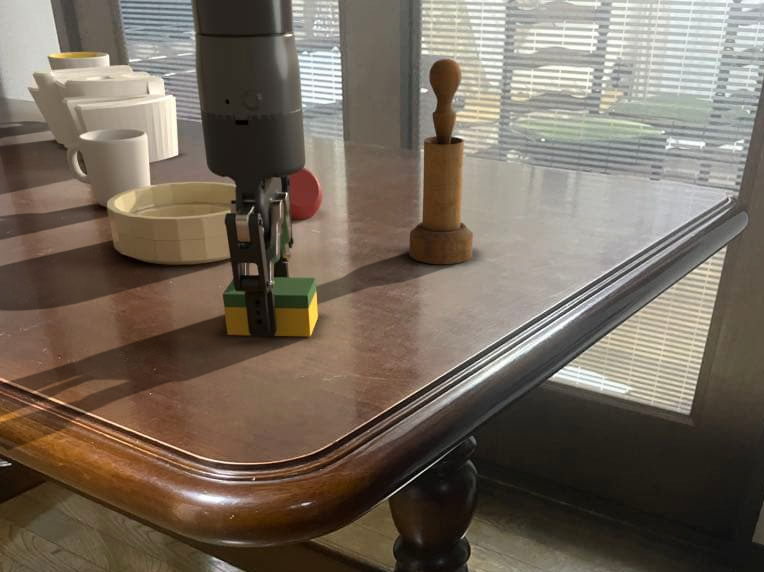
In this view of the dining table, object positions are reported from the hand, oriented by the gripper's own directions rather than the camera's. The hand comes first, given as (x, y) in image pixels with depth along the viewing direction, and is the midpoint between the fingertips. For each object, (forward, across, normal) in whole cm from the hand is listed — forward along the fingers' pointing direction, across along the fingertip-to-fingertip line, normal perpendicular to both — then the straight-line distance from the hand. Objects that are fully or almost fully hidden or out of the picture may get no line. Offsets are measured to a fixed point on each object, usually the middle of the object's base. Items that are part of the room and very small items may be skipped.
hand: (270, 319), depth 74 cm
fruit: (+1, -37, -4) cm, 37 cm away
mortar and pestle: (+1, -21, +14) cm, 25 cm away
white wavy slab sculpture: (+1, -72, -39) cm, 82 cm away
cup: (+1, -40, -27) cm, 48 cm away
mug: (+1, -100, -52) cm, 113 cm away
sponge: (+1, 0, 0) cm, 1 cm away
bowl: (+1, -23, -13) cm, 26 cm away
